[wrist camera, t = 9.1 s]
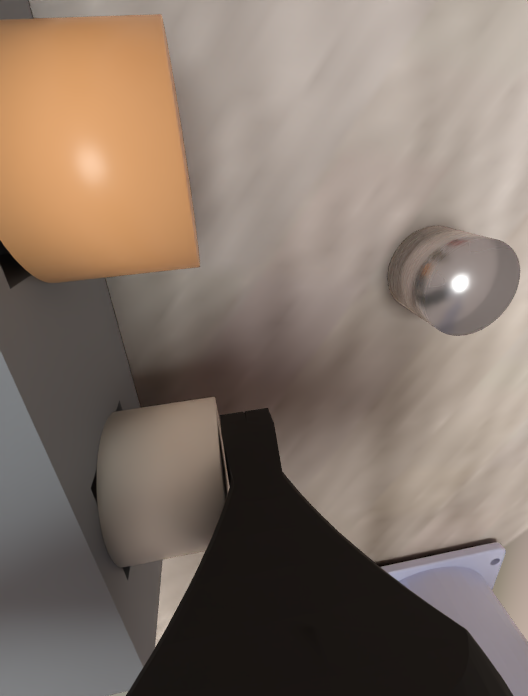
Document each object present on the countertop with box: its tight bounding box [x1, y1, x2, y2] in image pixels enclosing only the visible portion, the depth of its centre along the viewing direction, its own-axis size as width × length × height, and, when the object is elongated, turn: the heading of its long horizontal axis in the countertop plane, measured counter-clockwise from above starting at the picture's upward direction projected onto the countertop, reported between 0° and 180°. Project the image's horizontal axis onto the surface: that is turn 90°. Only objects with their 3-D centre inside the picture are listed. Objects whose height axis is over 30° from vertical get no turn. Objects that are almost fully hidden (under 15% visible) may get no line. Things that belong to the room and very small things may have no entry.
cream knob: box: [91, 397, 229, 567], centre depth 9 cm, size 4×10×4 cm, turn 94°
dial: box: [388, 226, 520, 336], centre depth 10 cm, size 3×3×2 cm
